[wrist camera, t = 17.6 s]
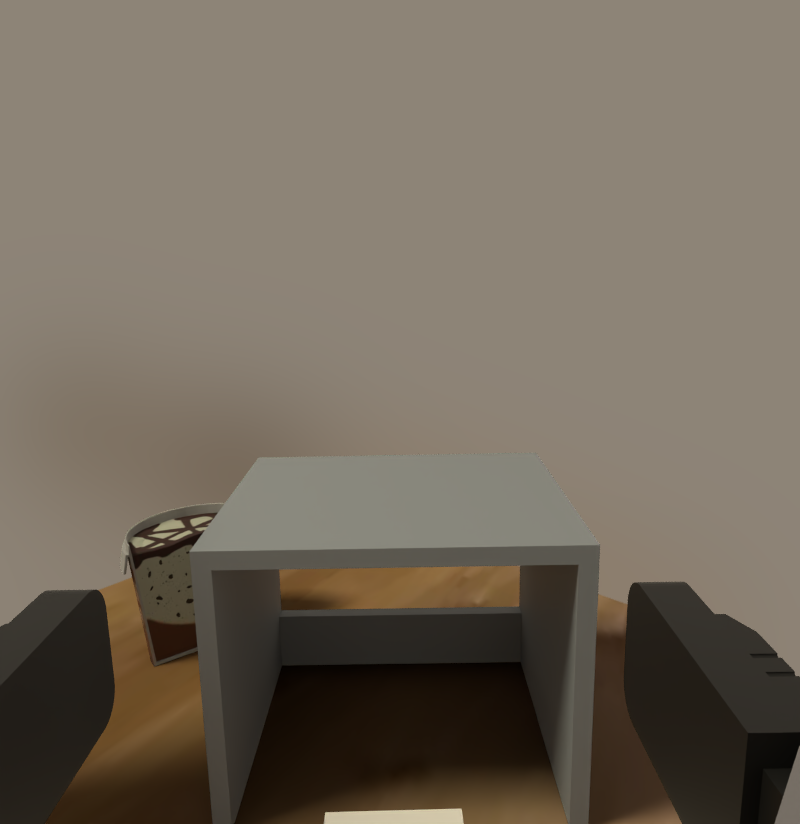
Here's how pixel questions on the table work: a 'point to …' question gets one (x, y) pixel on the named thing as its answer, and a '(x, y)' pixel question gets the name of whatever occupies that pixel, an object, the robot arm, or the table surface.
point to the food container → (166, 577)
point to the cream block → (396, 817)
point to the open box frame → (395, 628)
